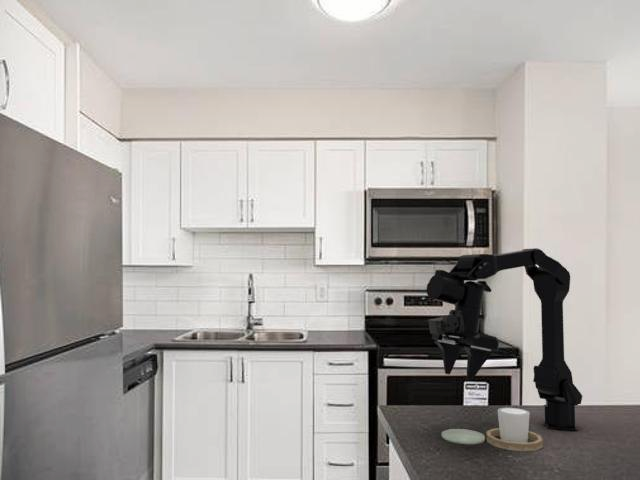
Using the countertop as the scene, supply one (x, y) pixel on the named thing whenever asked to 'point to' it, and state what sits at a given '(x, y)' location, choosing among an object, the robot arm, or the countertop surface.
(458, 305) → the robot arm
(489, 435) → the collar
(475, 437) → the pale green round disc
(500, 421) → the shot glass
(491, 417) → the countertop surface
